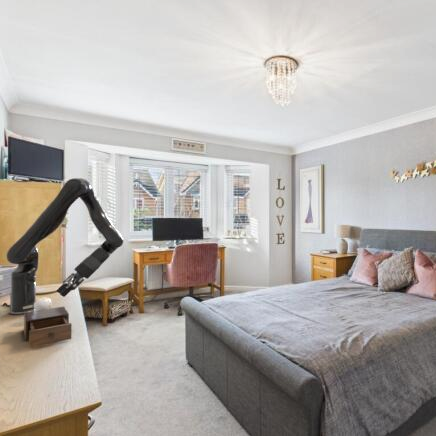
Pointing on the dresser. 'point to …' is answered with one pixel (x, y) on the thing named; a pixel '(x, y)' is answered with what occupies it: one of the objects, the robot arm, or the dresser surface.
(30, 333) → the drawer
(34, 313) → the cabinet
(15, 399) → the dresser surface
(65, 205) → the robot arm
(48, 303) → the lightbulb
